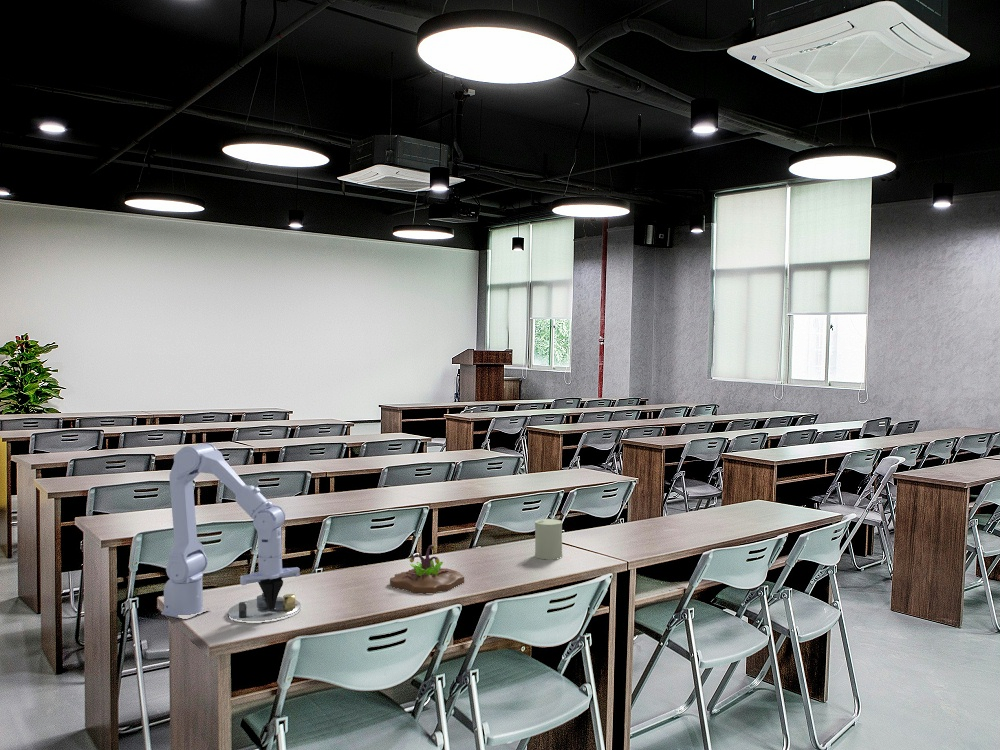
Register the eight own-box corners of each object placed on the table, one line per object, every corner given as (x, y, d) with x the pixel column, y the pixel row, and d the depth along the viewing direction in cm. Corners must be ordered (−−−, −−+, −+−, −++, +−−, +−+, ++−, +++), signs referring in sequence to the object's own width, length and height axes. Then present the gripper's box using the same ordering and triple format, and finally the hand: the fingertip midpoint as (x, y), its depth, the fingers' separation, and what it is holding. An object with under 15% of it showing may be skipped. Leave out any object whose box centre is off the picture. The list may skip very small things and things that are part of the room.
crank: (253, 608, 195) (253, 596, 195) (262, 603, 199) (261, 591, 199) (290, 611, 193) (290, 598, 193) (298, 606, 197) (298, 593, 197)
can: (530, 554, 254) (530, 518, 253) (556, 551, 256) (556, 516, 256) (540, 560, 245) (540, 524, 245) (566, 558, 248) (566, 522, 247)
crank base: (212, 616, 193) (212, 598, 193) (265, 597, 209) (265, 580, 209) (264, 628, 185) (264, 608, 184) (315, 606, 200) (314, 588, 200)
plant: (476, 582, 223) (475, 544, 223) (429, 599, 208) (428, 558, 208) (428, 571, 236) (427, 535, 235) (380, 585, 220) (380, 547, 220)
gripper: (244, 562, 184) (245, 618, 185) (303, 554, 192) (304, 607, 192) (237, 556, 190) (238, 610, 191) (294, 548, 198) (295, 600, 198)
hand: (270, 608), depth 192 cm, fingers closed
